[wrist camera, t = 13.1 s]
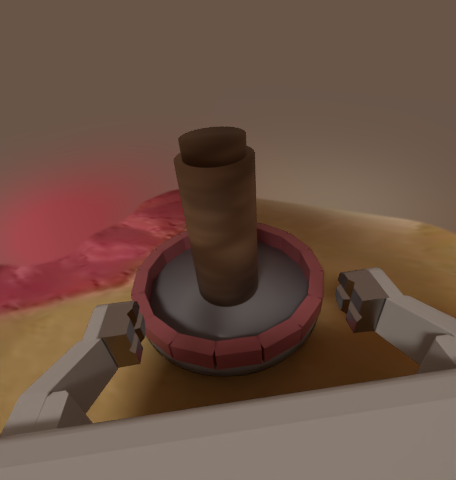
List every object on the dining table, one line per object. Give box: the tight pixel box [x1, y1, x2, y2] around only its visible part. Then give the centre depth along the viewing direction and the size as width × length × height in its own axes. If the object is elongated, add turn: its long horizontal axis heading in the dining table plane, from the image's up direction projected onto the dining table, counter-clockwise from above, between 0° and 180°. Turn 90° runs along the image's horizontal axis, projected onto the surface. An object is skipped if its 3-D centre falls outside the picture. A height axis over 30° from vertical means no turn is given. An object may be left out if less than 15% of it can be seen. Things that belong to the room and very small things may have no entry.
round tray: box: [131, 223, 324, 376], centre depth 24 cm, size 15×15×2 cm
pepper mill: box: [174, 127, 258, 307], centre depth 20 cm, size 5×5×12 cm
